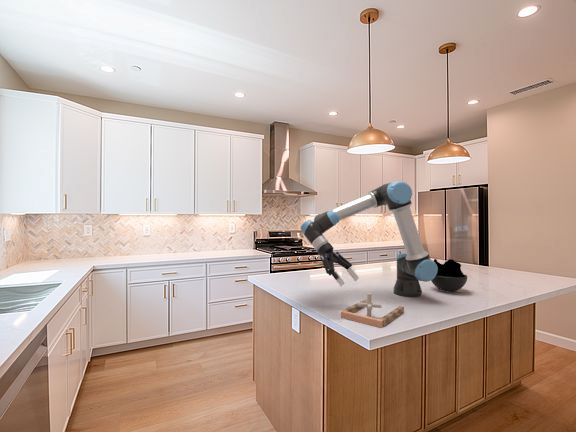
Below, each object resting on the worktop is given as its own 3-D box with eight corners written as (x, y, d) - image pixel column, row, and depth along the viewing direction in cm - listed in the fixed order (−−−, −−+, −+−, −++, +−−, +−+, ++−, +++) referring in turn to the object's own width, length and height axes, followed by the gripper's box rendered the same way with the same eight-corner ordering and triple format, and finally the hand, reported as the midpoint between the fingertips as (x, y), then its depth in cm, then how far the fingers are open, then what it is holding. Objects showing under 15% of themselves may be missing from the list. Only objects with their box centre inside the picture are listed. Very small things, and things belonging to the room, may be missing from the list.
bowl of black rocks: (471, 291, 174) (471, 259, 174) (461, 297, 160) (461, 263, 160) (435, 285, 189) (436, 256, 189) (423, 291, 174) (423, 259, 175)
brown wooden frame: (365, 304, 147) (365, 299, 147) (403, 312, 135) (403, 307, 135) (342, 316, 130) (342, 310, 130) (384, 326, 117) (384, 320, 117)
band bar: (343, 316, 129) (343, 310, 129) (382, 326, 118) (382, 320, 118) (340, 317, 128) (340, 311, 128) (380, 327, 116) (380, 321, 116)
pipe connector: (382, 321, 123) (382, 297, 123) (357, 319, 125) (358, 295, 125) (379, 314, 133) (380, 291, 133) (357, 312, 135) (357, 290, 135)
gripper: (331, 249, 155) (357, 282, 146) (303, 254, 136) (331, 292, 127) (340, 240, 152) (367, 272, 142) (312, 243, 133) (342, 281, 123)
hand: (350, 282), depth 134 cm, fingers open, 13 cm apart
